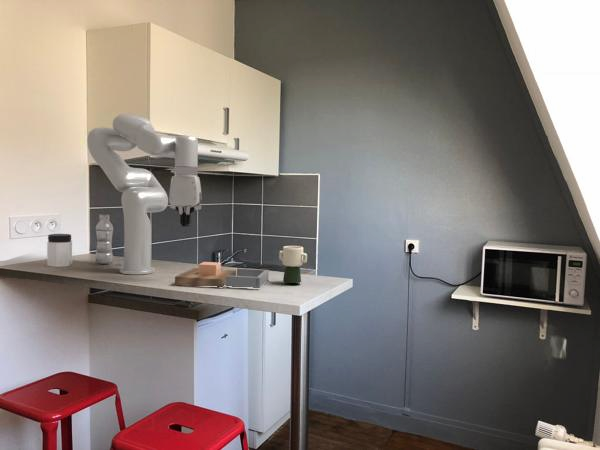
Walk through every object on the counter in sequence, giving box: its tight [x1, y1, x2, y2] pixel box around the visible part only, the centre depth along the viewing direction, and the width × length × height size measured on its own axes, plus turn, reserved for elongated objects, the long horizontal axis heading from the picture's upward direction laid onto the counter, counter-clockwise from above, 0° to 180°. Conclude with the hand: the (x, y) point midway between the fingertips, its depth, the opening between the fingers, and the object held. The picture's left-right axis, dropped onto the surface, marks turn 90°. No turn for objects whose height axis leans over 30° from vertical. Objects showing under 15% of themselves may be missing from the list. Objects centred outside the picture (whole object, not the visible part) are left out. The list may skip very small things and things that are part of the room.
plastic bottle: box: [95, 213, 114, 265], centre depth 201 cm, size 6×7×20 cm
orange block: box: [198, 261, 222, 276], centre depth 172 cm, size 6×6×4 cm
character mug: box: [278, 245, 308, 284], centre depth 174 cm, size 11×7×13 cm, turn 62°
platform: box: [174, 267, 237, 287], centre depth 172 cm, size 16×18×3 cm
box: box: [225, 267, 270, 288], centre depth 171 cm, size 11×16×4 cm
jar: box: [46, 233, 73, 268], centre depth 195 cm, size 9×8×12 cm
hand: (185, 226), depth 172 cm, fingers closed
